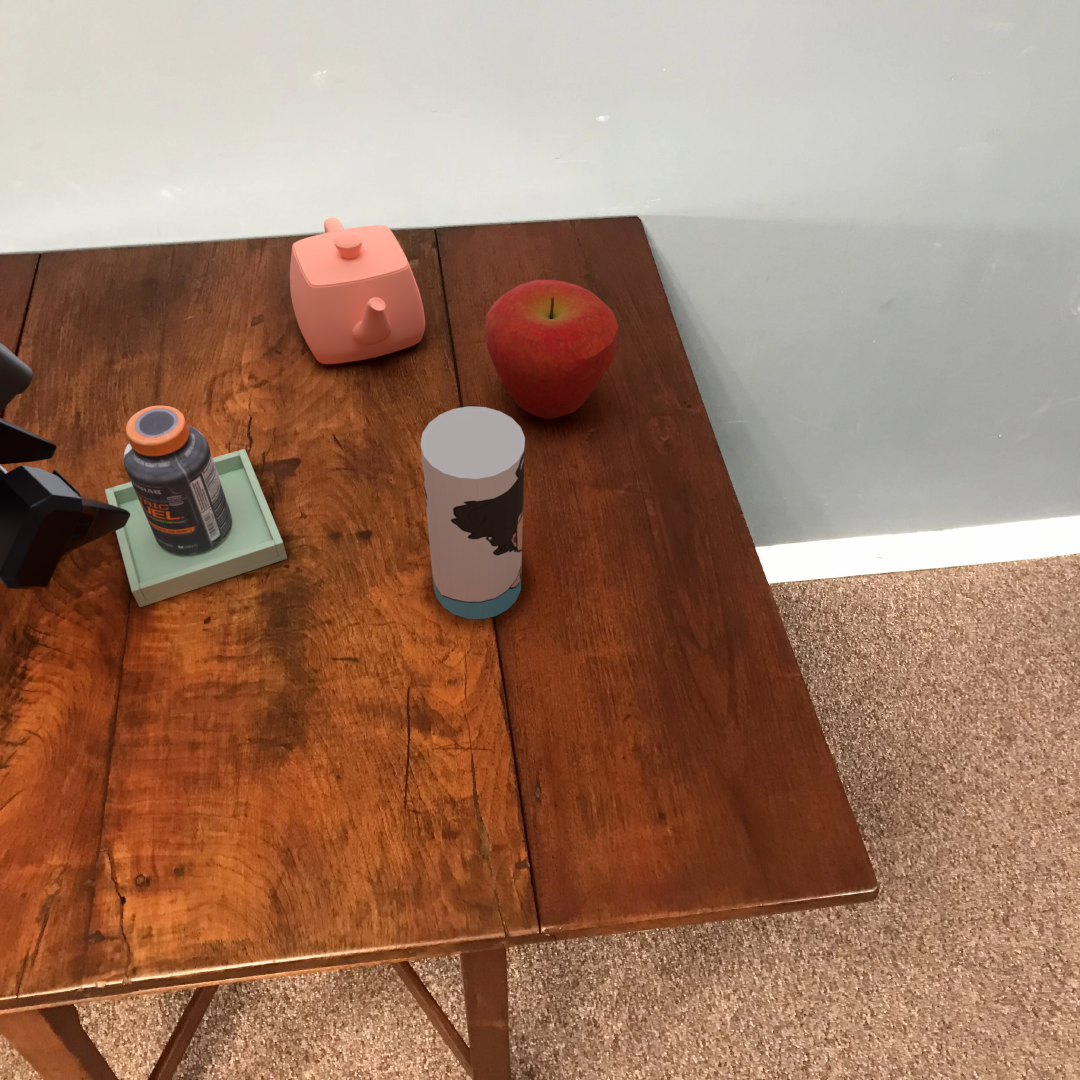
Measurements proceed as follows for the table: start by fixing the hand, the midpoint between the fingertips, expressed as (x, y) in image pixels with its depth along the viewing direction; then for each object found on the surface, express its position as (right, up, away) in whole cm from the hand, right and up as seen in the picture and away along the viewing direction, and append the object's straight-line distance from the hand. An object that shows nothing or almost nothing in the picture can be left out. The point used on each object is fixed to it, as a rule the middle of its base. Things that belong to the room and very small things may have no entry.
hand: (89, 484), depth 64 cm
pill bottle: (+4, -3, +10) cm, 11 cm away
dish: (+4, -3, +10) cm, 12 cm away
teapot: (+14, +16, +27) cm, 34 cm away
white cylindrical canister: (+26, -7, +8) cm, 28 cm away
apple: (+32, +8, +22) cm, 39 cm away
